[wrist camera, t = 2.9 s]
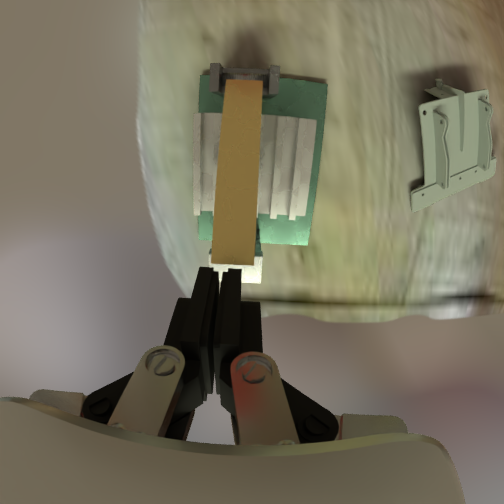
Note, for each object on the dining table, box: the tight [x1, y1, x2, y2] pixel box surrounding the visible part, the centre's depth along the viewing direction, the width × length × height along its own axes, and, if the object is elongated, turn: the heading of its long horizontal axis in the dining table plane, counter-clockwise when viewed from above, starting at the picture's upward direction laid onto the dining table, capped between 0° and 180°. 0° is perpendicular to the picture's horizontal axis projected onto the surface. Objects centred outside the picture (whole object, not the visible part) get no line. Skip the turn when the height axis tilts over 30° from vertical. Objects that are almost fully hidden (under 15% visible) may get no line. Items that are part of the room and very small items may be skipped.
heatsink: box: [193, 63, 328, 283], centre depth 21 cm, size 16×11×7 cm
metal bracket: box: [410, 79, 496, 212], centre depth 21 cm, size 14×6×15 cm
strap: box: [211, 73, 268, 266], centre depth 16 cm, size 13×3×1 cm, turn 177°
